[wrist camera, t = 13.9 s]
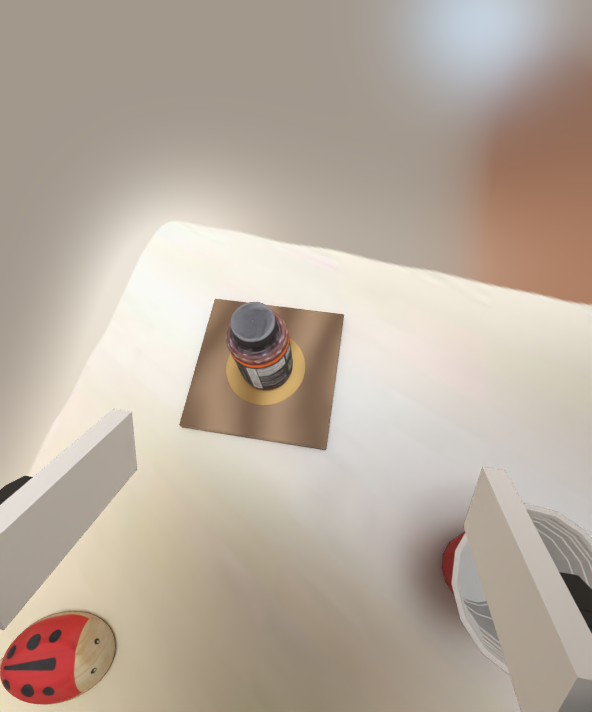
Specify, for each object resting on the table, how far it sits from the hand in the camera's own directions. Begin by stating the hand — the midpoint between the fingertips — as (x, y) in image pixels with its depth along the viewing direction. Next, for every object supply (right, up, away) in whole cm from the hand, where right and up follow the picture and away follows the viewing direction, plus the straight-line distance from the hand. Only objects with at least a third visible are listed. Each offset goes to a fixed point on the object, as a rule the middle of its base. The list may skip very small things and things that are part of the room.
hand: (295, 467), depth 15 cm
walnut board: (-3, +3, +31) cm, 31 cm away
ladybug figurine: (-21, -23, +21) cm, 38 cm away
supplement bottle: (-3, +3, +30) cm, 30 cm away
